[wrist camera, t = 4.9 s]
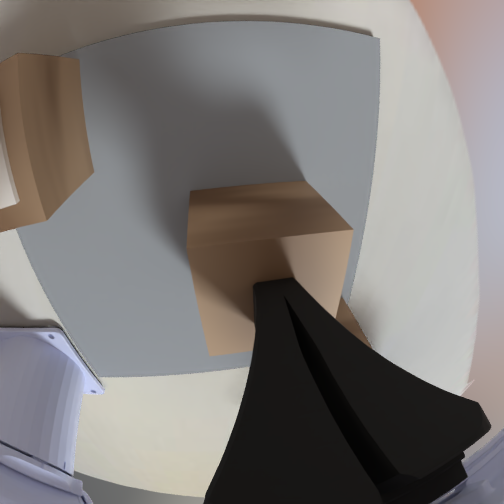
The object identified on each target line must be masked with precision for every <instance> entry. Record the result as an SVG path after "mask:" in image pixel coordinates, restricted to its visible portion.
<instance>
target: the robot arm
mask: <svg viewBox="0 0 504 504" xmlns="http://www.w3.org/2000/svg"><path fill="white" fill-rule="evenodd" d="M253 306H254V326H255V339H254V346H253V353H252V359H251V364H250V370H249V374H248V379H247V383H246V387H245V391H244V395H243V398H242V402H241V405H240V409H239V412H238V415H237V419H236V422H235V425H234V427H233V430H232V433H231V436H230V438H229V441H228V444H227V446H226V449H225V452H224V454H223V457H222V459H221V461H220V464H219V466H218V468H217V470H216V472H215V475H214V477H213V479H212V481H211V483H210V485H209V487H208V490H207V492H206V495H205V500H204V503H203V504H504V428H503V429H502V430H501V431H500V432H499V433H498V434H497V435H496V436H495V437H494V438H492V439H491V440H490V441H489V442H488V443H486V444H485V445H484V446H483V447H482V448H480V449H479V450H478V451H477V452H475V453H474V454H473V455H472V456H470V457H469V458H468V459H466V460H465V461H464V462H461V460H462V459H463V458H464V457H465V454H464V452H463V451H465V450H466V449H467V448H469V447H470V446H471V445H473V444H474V443H475V442H476V441H478V440H479V439H480V438H481V437H482V436H484V435H485V434H486V433H487V432H488V431H489V430H490V428H491V424H490V422H489V420H488V419H487V417H486V415H485V413H484V411H483V410H482V408H481V406H480V405H479V403H478V402H475V401H472V400H469V399H466V398H464V397H461V396H458V395H455V394H452V393H450V392H447V391H445V390H443V389H440V388H438V387H436V386H434V385H432V384H429V383H427V382H425V381H423V380H421V379H420V378H418V377H416V376H414V375H412V374H411V373H409V372H407V371H405V370H404V369H402V368H400V367H398V366H397V365H395V364H393V363H392V362H390V361H389V360H387V359H386V358H384V357H383V356H381V355H380V354H378V353H377V352H376V351H374V350H373V349H371V348H370V347H369V346H367V345H366V344H365V343H363V342H362V341H361V340H360V339H358V338H357V337H356V336H355V335H354V334H352V333H351V332H350V331H349V330H348V329H346V328H345V327H344V326H343V325H342V324H341V323H340V322H338V321H337V320H336V319H335V318H334V317H333V316H332V315H331V314H330V313H329V312H328V311H327V310H325V309H324V308H323V307H322V306H321V305H320V304H319V303H318V302H317V301H316V300H315V299H314V298H313V297H312V296H311V295H310V294H309V293H308V292H307V291H306V290H305V289H304V287H303V286H302V285H301V284H300V283H299V282H298V281H297V280H296V279H295V278H293V277H292V278H285V279H278V280H270V281H263V282H256V283H255V284H254V285H253ZM104 391H105V389H104V388H103V386H102V385H101V384H100V383H99V381H98V380H97V379H96V378H95V376H94V375H93V374H92V372H91V371H90V370H89V368H88V367H87V366H86V364H85V363H84V362H83V360H82V359H81V358H80V356H79V355H78V353H77V352H76V350H75V349H74V347H73V346H72V345H71V343H70V342H69V340H68V339H67V337H66V335H65V334H64V332H63V331H62V330H61V329H59V328H0V504H93V502H92V501H91V499H90V497H89V495H88V494H87V493H86V492H85V491H84V490H82V481H80V480H78V479H75V478H73V475H74V474H73V473H74V459H75V448H76V438H77V430H78V423H79V416H80V409H81V403H82V397H83V394H104ZM453 489H455V491H454V492H451V493H449V492H450V491H452V490H453ZM448 493H449V494H448ZM446 494H447V495H446Z"/></svg>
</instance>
